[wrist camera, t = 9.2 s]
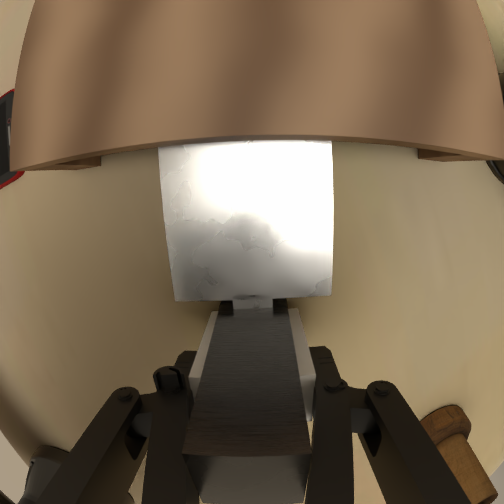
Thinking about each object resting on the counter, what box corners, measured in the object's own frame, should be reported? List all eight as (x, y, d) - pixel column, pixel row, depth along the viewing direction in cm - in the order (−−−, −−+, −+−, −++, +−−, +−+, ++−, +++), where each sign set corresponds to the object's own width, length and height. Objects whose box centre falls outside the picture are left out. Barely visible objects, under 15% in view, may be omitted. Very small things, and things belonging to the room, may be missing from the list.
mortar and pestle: (400, 430, 21) (464, 586, 4) (459, 393, 20) (549, 528, 3) (412, 458, 22) (462, 585, 5) (464, 426, 22) (531, 541, 4)
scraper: (196, 336, 19) (144, 494, 8) (172, 37, 14) (71, -83, 2) (318, 331, 19) (364, 493, 7) (308, 27, 14) (365, -116, 2)
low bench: (76, 169, 17) (10, 171, 11) (89, 18, 14) (42, -18, 8) (442, 161, 16) (508, 160, 10) (419, 8, 13) (461, -32, 7)
